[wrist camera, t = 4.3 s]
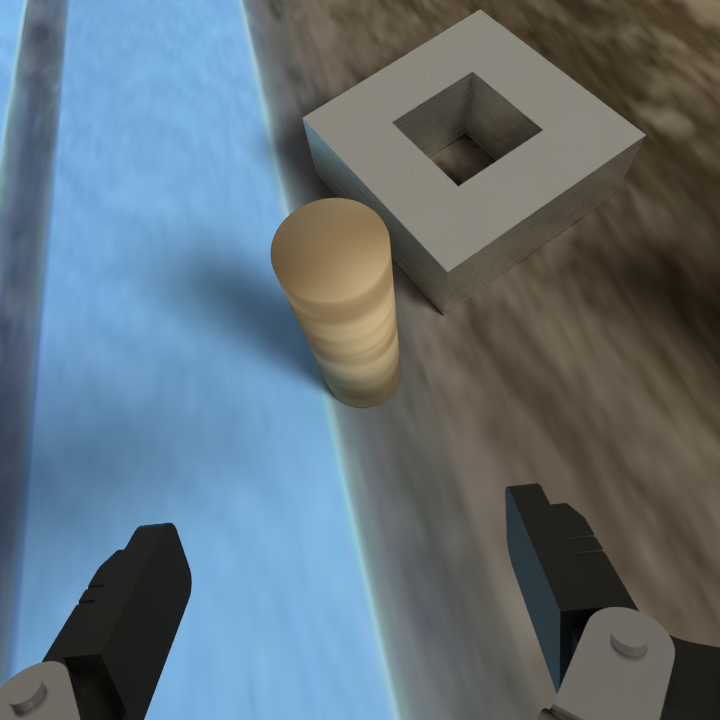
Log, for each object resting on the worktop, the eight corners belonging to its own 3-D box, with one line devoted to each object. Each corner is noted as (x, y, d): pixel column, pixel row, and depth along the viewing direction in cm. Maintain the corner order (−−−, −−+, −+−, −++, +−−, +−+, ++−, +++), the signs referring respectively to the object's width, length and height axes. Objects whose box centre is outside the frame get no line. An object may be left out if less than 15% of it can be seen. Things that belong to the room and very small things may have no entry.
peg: (312, 365, 32) (248, 240, 20) (371, 324, 33) (344, 178, 21) (354, 422, 30) (312, 323, 18) (415, 378, 31) (415, 254, 19)
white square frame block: (316, 174, 37) (302, 118, 33) (472, 75, 39) (480, 9, 35) (443, 315, 32) (447, 272, 28) (614, 194, 34) (645, 135, 30)
